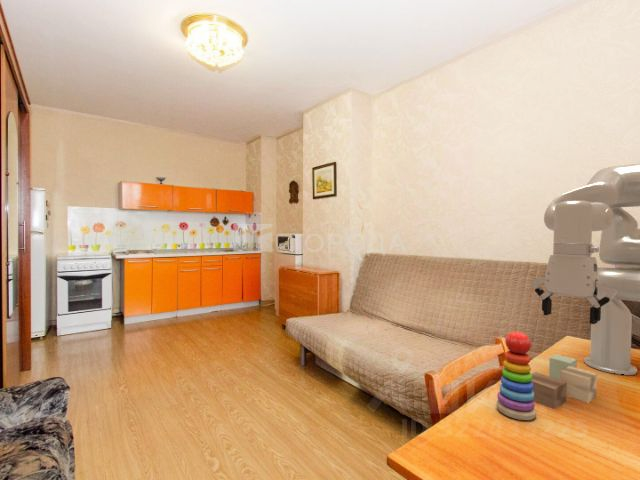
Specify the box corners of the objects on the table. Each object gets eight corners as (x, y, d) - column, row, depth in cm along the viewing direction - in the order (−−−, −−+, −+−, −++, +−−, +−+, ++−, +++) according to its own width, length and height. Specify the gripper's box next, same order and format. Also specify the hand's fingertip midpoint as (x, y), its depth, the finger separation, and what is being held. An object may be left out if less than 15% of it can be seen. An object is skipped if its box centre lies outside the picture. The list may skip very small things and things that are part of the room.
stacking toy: (542, 424, 71) (545, 339, 71) (503, 419, 72) (505, 336, 72) (527, 405, 79) (529, 329, 78) (491, 401, 80) (493, 326, 80)
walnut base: (535, 390, 87) (535, 372, 87) (566, 401, 81) (566, 382, 81) (522, 397, 83) (523, 378, 83) (554, 409, 77) (554, 389, 77)
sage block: (556, 373, 98) (556, 354, 97) (576, 380, 93) (576, 359, 93) (549, 377, 95) (549, 357, 95) (569, 384, 91) (570, 363, 90)
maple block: (568, 387, 89) (569, 366, 89) (596, 396, 84) (596, 373, 84) (559, 393, 85) (560, 371, 85) (588, 403, 80) (588, 379, 80)
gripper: (622, 252, 76) (619, 325, 76) (539, 249, 90) (537, 310, 90) (612, 252, 72) (609, 329, 72) (526, 249, 86) (524, 313, 86)
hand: (569, 318), depth 81 cm, fingers open, 9 cm apart
